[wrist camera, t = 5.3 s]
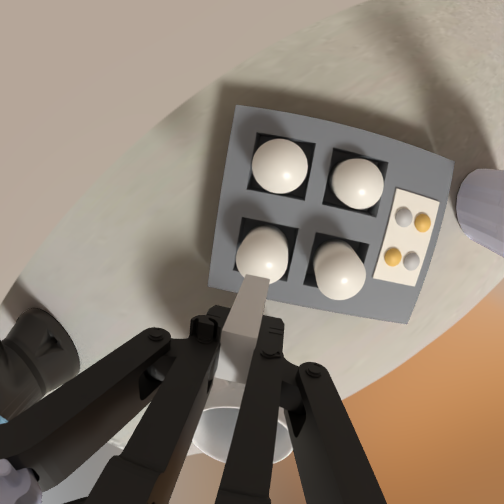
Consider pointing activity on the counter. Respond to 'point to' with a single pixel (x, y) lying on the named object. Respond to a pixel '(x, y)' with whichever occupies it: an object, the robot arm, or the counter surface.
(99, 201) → the counter surface
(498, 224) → the soap bottle
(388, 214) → the button board
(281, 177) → the button
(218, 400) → the mug
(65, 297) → the counter surface
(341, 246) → the button
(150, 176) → the counter surface
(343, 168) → the button
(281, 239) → the button
